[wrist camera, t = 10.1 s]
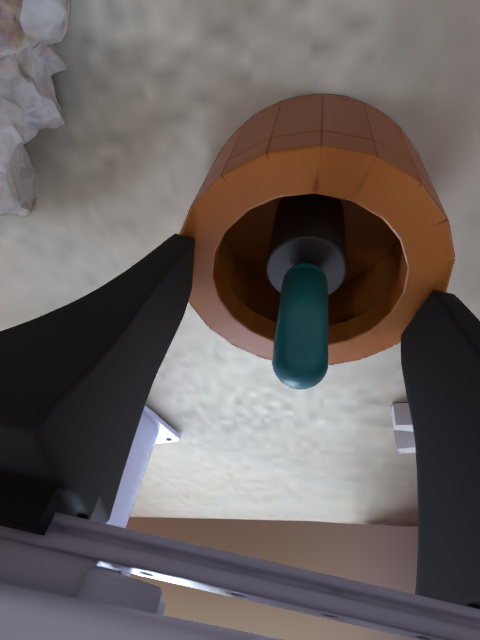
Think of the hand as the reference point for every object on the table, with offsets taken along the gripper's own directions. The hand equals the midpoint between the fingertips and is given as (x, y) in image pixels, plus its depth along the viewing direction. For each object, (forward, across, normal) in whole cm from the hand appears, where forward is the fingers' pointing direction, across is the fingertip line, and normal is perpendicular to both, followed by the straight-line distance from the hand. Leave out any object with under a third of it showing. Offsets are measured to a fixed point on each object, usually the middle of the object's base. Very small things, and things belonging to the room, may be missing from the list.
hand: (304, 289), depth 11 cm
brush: (+4, 0, 0) cm, 4 cm away
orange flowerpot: (+5, 0, 0) cm, 5 cm away
